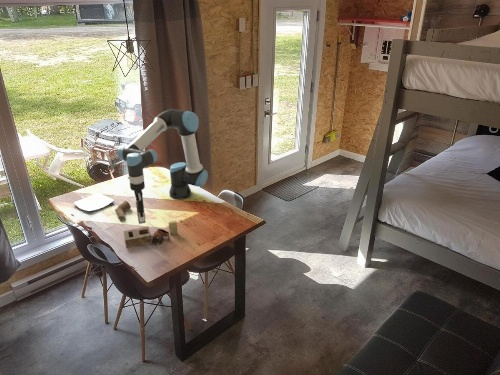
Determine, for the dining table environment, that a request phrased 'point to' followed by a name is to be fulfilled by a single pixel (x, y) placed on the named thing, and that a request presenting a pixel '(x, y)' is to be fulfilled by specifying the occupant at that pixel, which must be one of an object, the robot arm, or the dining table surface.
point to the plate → (94, 202)
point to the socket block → (137, 237)
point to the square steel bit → (138, 213)
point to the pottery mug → (159, 236)
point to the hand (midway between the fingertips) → (141, 219)
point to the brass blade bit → (173, 227)
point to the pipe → (122, 209)
